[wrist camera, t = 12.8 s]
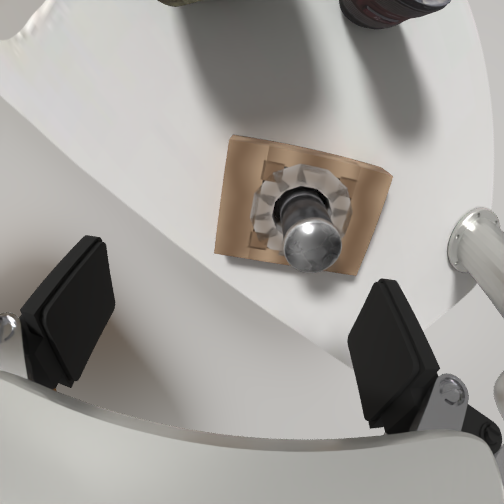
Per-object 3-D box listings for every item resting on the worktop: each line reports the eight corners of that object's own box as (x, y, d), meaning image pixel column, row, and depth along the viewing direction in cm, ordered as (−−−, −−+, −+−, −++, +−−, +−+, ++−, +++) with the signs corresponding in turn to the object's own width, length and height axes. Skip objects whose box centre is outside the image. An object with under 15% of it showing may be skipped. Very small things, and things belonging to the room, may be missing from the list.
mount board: (381, 167, 35) (393, 176, 32) (349, 260, 43) (356, 275, 39) (232, 134, 34) (229, 139, 30) (218, 238, 42) (214, 253, 38)
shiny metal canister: (325, 187, 37) (349, 227, 27) (314, 225, 40) (331, 276, 30) (283, 178, 37) (291, 216, 26) (274, 218, 40) (278, 268, 29)
